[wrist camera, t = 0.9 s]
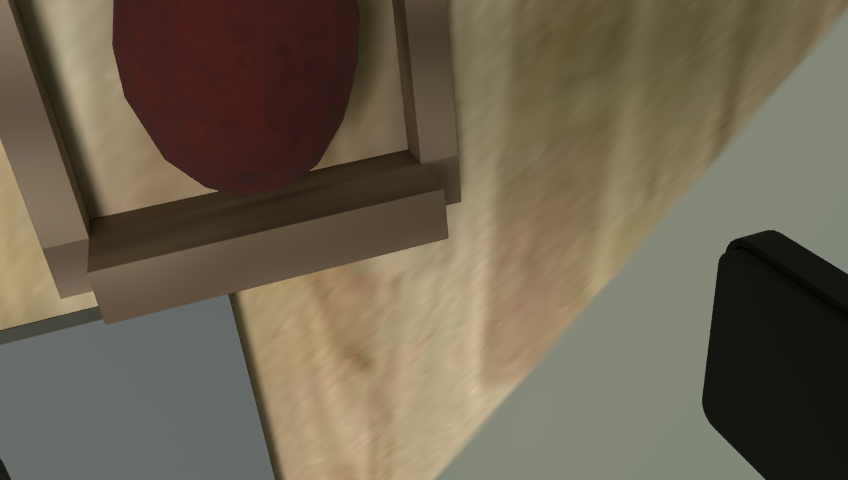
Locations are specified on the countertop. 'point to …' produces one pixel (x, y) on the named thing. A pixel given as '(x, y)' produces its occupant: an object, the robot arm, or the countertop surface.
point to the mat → (130, 398)
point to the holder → (230, 214)
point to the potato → (238, 84)
